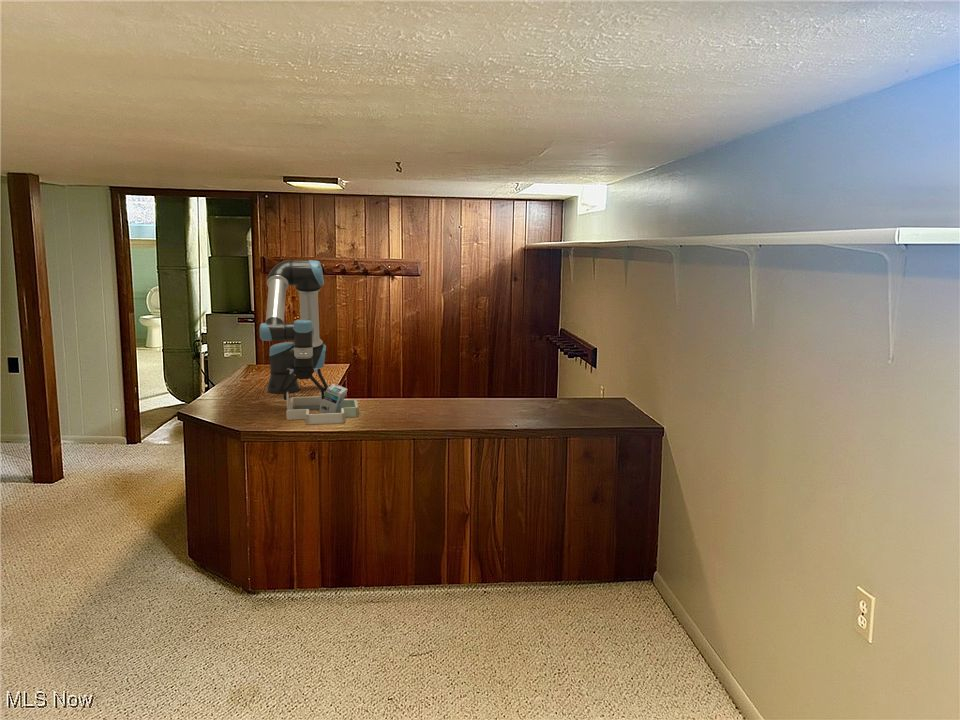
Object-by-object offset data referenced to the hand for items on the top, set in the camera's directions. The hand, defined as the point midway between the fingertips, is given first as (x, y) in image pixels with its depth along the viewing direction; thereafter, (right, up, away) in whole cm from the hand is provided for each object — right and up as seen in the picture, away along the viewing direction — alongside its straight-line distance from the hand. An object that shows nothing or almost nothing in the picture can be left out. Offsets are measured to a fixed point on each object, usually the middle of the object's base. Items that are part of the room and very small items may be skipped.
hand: (304, 407), depth 304 cm
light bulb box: (+10, -2, +3) cm, 11 cm away
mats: (+5, -3, +2) cm, 6 cm away
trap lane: (+7, -3, +3) cm, 8 cm away
